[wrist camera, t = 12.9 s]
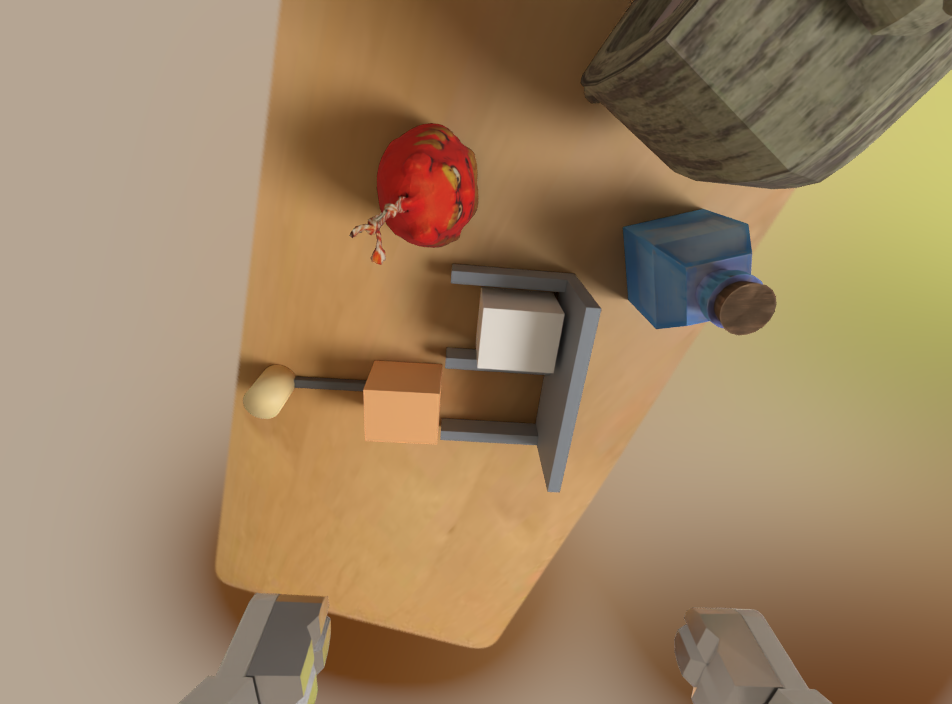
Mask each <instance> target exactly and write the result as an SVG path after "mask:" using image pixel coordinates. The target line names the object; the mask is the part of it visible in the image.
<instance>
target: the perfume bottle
mask: <svg viewBox="0 0 952 704" xmlns="http://www.w3.org/2000/svg"><path fill="white" fill-rule="evenodd" d="M623 236H624V250H625V263H626V277H627V290H628V300H629V301H630V302H631V303H632V304H633V305H634V306H635V308H636V309H637V310H638V311H639V312H640V313H641V314H642V315H643V316H644V317H645V318H646V319H647V320H648V321H649V322H650V323H651V324H652V325H653V326H654V327H655V328H656V329H662V328H671V327H680V326H688V325H693V324H698V323H703V322H707V321H711V322H712V323H713V324H715V325H716V326H718V327H720V328H724V329H725V330H727V331H728V332H730V333H732V334H735V335H747V334H750V333H753V332H756V331H757V330H759V329H760V328H762V327H763V326H764V325H765V324H766V323H767V322H768V321H769V320H770V319H771V317H772V315H773V314H774V312H775V308H776V296H775V294H774V292H773V290H772V289H770V288H769V287H768V286H767V285H763V283H762V281H760V280H759V279H758V278H756V277H755V276H753V275H751V264H752V249H751V241H750V233H749V225H748V224H747V223H744V222H741V221H738V220H735V219H732V218H729V217H726V216H723V215H720V214H717V213H714V212H711V211H708V210H705V209H700V210H696V211H691V212H687V213H683V214H678V215H674V216H669V217H665V218H660V219H656V220H652V221H647V222H643V223H638V224H634V225H629V226H625V227H623Z"/></svg>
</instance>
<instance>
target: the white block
mask: <svg viewBox="0 0 952 704" xmlns="http://www.w3.org/2000/svg"><path fill="white" fill-rule="evenodd" d="M564 315H565V314H564V312H563V310H562V308H561V307H560V305H559V303H558V301H557V299H556V297H555V296H554V294H553V292H540V291H528V290H515V289H503V288H490V287H481V294H480V304H479V314H478V324H477V334H476V354H477V368H482V369H497V370H511V371H526V372H541V373H554V367H555V362H556V357H557V352H558V346H559V341H560V336H561V331H562V325H563V320H564Z"/></svg>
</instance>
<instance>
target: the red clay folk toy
mask: <svg viewBox="0 0 952 704" xmlns="http://www.w3.org/2000/svg"><path fill="white" fill-rule="evenodd" d="M377 193H378V199H379V206H380V210H381V212H382V213H380V214H378V215H376V216H374V217H372V218H370V219H369V220H368V224H363V225H359V226H356V227H355V228H354V229H353V230H352V232H351V233H350V236H351V237H352V238H353V237H355V236H356V235H357V234H358V233H362V232H363V230H365V231H367V232H368V233H369V234H370V235H373V234H375V233H376V237H377V245H376V248H375V250H374V252H373V254H372V256H371V260H372V262H375V263H377V264H380V265H382V263H383V261H385V260H386V256H385V250H384V249H383V248H382V242H381V233H380V231H379V229H380V227H381V226H382V225H383V224H384V222H386V224H387V225H388V226H389V228H390V229H391V230H392V231H393V232H394V234H395V235H397V236H399V237H401V238H403V239H404V240H406V241H407V242H409V243H411V244H414V245H417V246H422V247H432V248H435V247H442V246H445V245H447V244H449V243H450V242H453V241H456V240H457V239H458V238H459V237H460V233H461V230H462V229H463V227H464V226H465V225H466V224H467V223H468V222H469V220H470V219H471V218H472V217H473V215H474V214H475V212H476V210H477V207H478V187H477V164H476V159H475V154H474V152H473V151H472V150H471V149H469V148H468V147H466V146H464V145H463V144H462V143H461V142H460V140H459V139H458V138H457V137H456V136H455V135H454V134H453V132H451V131H450V130H449V129H448V128H446V127H445V126H443V125H440V124H433V123H430V124H423V125H419V126H417V127H415V128H413V129H411V130H409V131H408V132H406V133H404V134H403V135H402V136H401V137H399V138H397V139H395V140H393V141H392V142H391V143H390V144H389V146H388V147H387V149H386V150H385V152H384V154H383V156H382V158H381V161H380V164H379V168H378V173H377Z"/></svg>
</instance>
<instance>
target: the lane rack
mask: <svg viewBox="0 0 952 704" xmlns="http://www.w3.org/2000/svg"><path fill="white" fill-rule="evenodd" d="M451 283H453V284H465V285H478V286H491V287H504V288H516V289H529V290H542V291H555V292H559V295H558V300H557V301H558V303H559V305H560V307H561V308H562V310H563V312H564V314H565V315H564V320H563V325H562V331H561V336H560V341H559V346H558V352H557V357H556V362H555V367H554V373H541V372H526V371H511V370H497V369H482V368H477V354H476V350H475V349H461V348H447V350H446V364H445V368H447V369H462V370H477V371H492V372H507V373H522V374H537V375H544V379H543V384H542V390H541V395H540V401H539V407H538V412H537V418H536V423H535V424H529V423H513V422H496V421H479V420H463V419H446V418H442V425H441V439H440V440H454V441H471V442H489V443H506V444H524V445H537V448H538V452H539V457H540V461H541V465H542V470H543V474H544V478H545V483H546V487H547V491H548V492H560V489H561V484H562V480H563V476H564V471H565V467H566V462H567V458H568V453H569V449H570V445H571V440H572V436H573V431H574V427H575V423H576V418H577V414H578V409H579V405H580V401H581V396H582V392H583V387H584V383H585V378H586V374H587V370H588V365H589V361H590V356H591V352H592V348H593V343H594V339H595V334H596V330H597V325H598V321H599V317H600V312H601V308H600V306H599V305H598V304H597V302H596V301H595V300H594V299H593V297H592V296H591V295H590V293H589V292H588V291H587V289H586V288H585V287H584V285H583V284H582V283H581V282H580V280H579V279H578V278H577V276H576V275H575V274H572V273H560V272H547V271H535V270H523V269H510V268H498V267H486V266H473V265H461V264H452V274H451Z"/></svg>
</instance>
